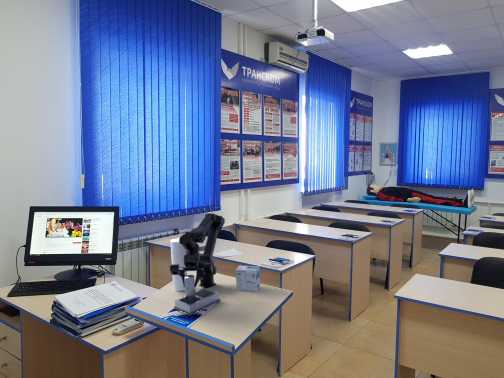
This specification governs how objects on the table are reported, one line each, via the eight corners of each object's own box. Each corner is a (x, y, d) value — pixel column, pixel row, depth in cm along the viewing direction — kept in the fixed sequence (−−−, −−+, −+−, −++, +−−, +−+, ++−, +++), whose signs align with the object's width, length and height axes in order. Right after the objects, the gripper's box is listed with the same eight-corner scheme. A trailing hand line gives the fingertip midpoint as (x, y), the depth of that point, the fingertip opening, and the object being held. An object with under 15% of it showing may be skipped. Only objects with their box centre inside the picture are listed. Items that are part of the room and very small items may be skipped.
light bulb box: (260, 286, 187) (259, 266, 186) (257, 292, 181) (256, 270, 180) (240, 285, 190) (239, 264, 189) (236, 290, 184) (235, 269, 182)
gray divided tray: (204, 295, 179) (203, 287, 178) (220, 301, 171) (220, 292, 171) (174, 309, 165) (173, 300, 164) (190, 315, 158) (189, 306, 157)
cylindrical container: (189, 285, 192) (186, 238, 189) (185, 291, 185) (182, 242, 181) (175, 285, 192) (172, 238, 189) (171, 291, 185) (168, 242, 182)
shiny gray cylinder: (194, 299, 168) (192, 274, 166) (197, 303, 164) (195, 277, 162) (184, 301, 166) (182, 275, 164) (187, 305, 162) (185, 279, 161)
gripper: (169, 247, 167) (164, 280, 158) (210, 245, 167) (208, 278, 158) (173, 258, 176) (170, 290, 167) (213, 257, 176) (211, 289, 166)
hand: (189, 287), depth 164 cm, fingers closed on shiny gray cylinder, 4 cm apart
